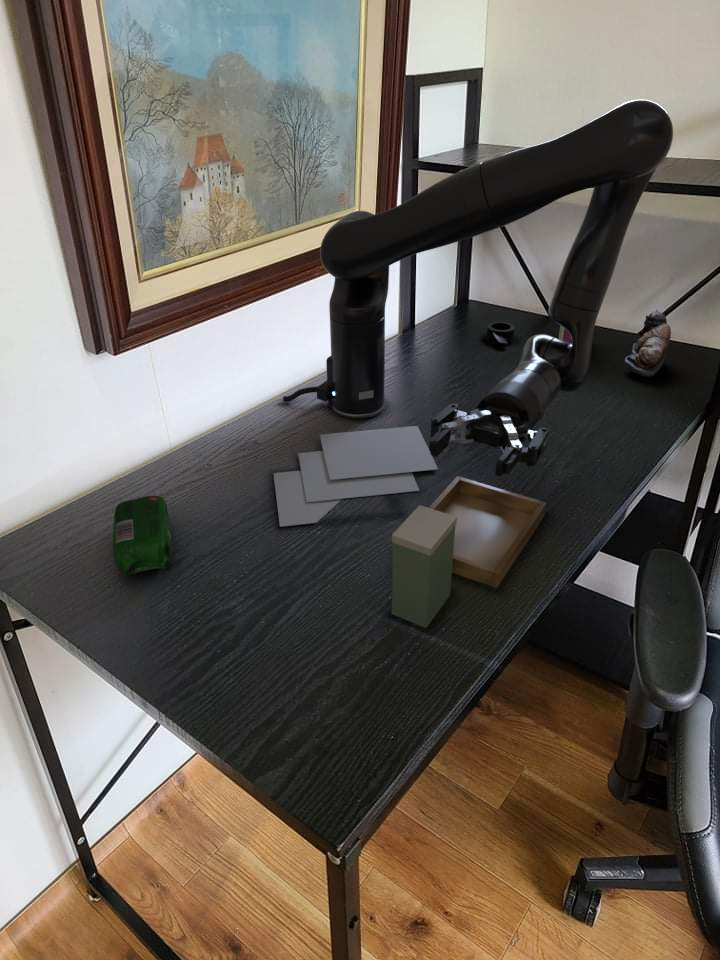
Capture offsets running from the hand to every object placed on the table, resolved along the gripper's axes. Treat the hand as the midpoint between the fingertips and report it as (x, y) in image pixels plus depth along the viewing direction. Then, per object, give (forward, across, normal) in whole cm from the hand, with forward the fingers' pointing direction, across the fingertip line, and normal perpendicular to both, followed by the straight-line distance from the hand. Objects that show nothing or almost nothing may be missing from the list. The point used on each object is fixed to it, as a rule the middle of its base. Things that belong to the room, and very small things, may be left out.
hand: (465, 459), depth 87 cm
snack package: (+20, -36, +15) cm, 44 cm away
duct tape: (-71, -23, +15) cm, 76 cm away
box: (-74, -8, +15) cm, 76 cm away
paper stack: (-10, -22, +15) cm, 28 cm away
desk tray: (-5, 0, +15) cm, 15 cm away
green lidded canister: (+11, 0, +15) cm, 18 cm away
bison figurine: (-71, +7, +15) cm, 73 cm away
